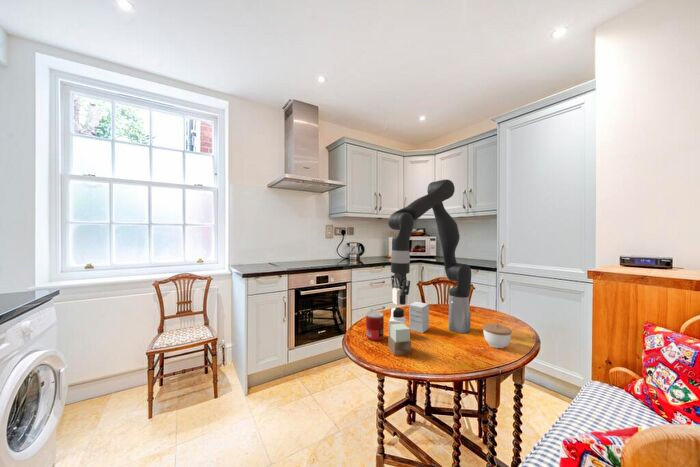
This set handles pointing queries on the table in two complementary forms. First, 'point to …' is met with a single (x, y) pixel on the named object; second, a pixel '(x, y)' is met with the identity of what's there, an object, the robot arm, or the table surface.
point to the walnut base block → (399, 347)
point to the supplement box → (419, 316)
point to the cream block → (397, 296)
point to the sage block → (399, 332)
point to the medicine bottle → (397, 317)
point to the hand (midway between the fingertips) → (399, 302)
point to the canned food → (374, 325)
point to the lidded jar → (497, 335)
